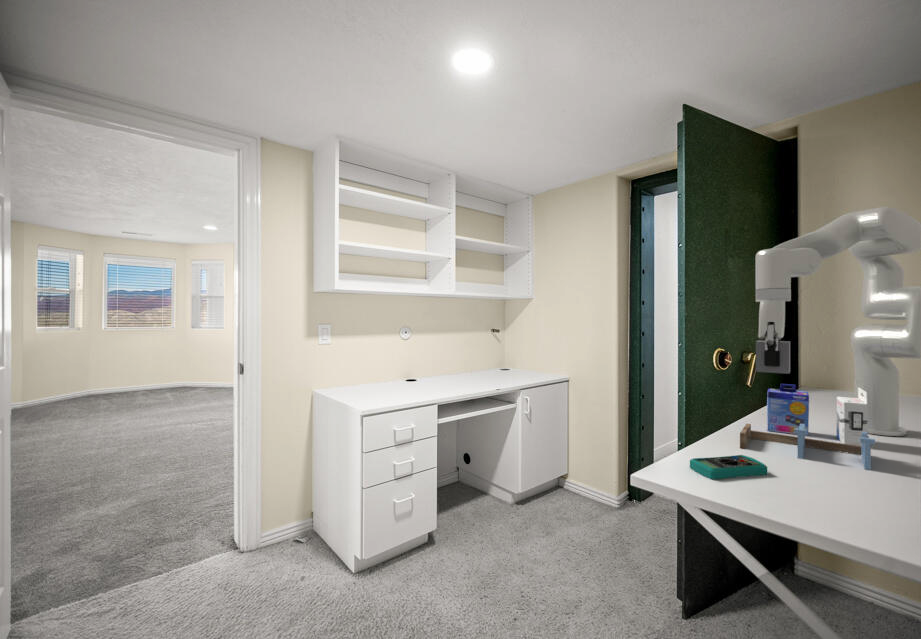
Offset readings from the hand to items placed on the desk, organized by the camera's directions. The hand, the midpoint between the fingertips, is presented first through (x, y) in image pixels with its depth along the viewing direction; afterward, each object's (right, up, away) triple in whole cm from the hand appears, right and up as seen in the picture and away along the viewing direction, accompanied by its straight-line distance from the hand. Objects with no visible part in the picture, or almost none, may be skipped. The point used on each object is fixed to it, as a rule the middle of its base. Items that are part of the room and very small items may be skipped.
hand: (772, 364), depth 113 cm
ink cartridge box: (+15, -22, +14) cm, 30 cm away
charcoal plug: (0, -2, 0) cm, 2 cm away
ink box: (+24, -22, +4) cm, 33 cm away
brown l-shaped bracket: (+5, -22, -3) cm, 23 cm away
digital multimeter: (-22, -23, -15) cm, 35 cm away
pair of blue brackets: (+9, -22, -7) cm, 25 cm away
